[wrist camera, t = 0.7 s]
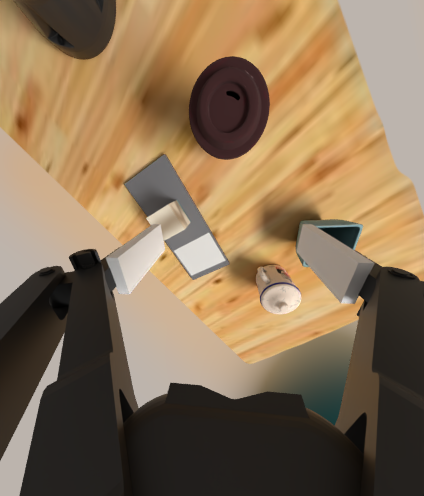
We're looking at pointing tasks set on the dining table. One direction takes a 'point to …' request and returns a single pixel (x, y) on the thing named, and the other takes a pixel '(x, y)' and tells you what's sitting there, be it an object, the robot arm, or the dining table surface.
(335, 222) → the flower pot
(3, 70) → the dining table surface
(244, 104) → the coffee cup
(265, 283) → the teacup with lid
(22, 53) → the dining table surface
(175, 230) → the birch cube
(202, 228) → the charcoal mat
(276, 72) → the dining table surface
